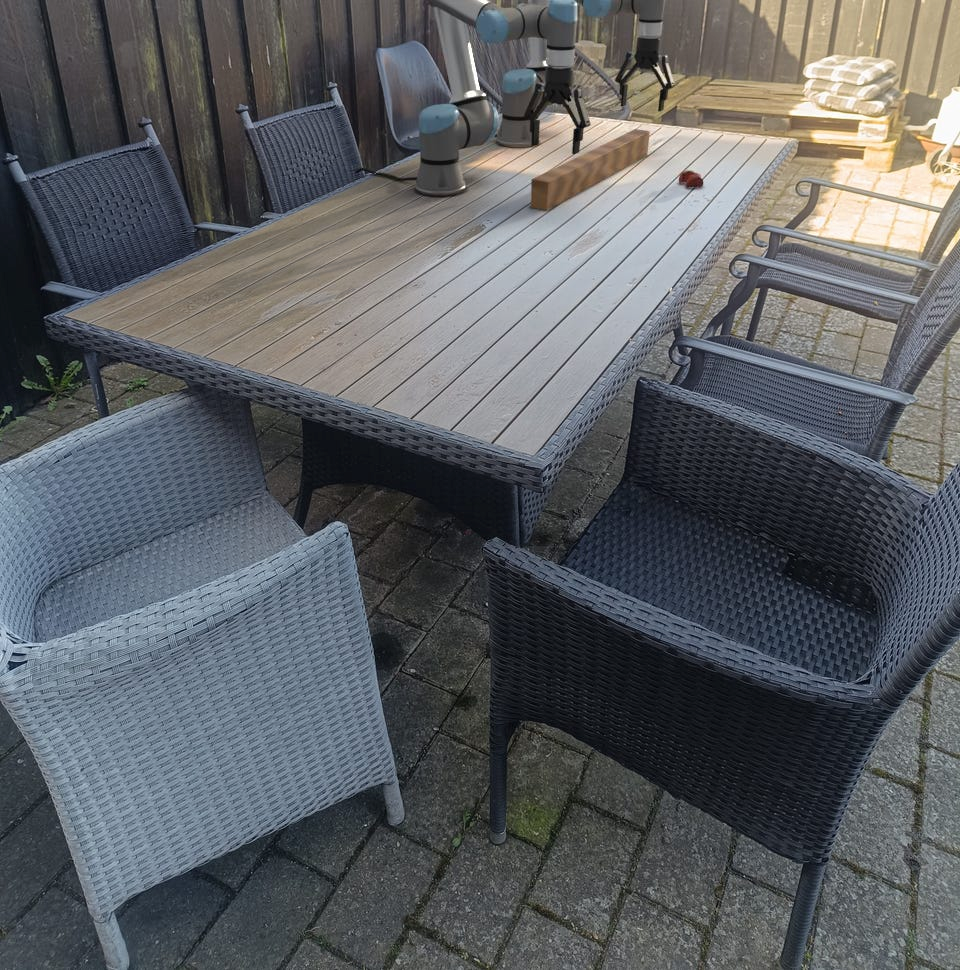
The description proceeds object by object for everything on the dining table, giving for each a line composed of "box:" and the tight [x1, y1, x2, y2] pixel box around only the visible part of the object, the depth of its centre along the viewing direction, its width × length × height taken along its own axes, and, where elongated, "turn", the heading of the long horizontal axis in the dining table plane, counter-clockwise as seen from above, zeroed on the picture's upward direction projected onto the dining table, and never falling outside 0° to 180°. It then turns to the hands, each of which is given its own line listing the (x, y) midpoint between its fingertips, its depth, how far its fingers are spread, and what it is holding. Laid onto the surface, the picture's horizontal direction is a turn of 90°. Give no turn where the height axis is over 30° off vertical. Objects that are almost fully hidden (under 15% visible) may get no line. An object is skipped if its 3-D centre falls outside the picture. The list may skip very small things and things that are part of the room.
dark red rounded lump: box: [678, 169, 704, 189], centre depth 261 cm, size 6×4×8 cm
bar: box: [530, 128, 651, 211], centre depth 265 cm, size 71×5×8 cm, turn 147°
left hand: (555, 149), depth 237 cm, fingers open, 13 cm apart
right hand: (641, 108), depth 281 cm, fingers open, 13 cm apart
